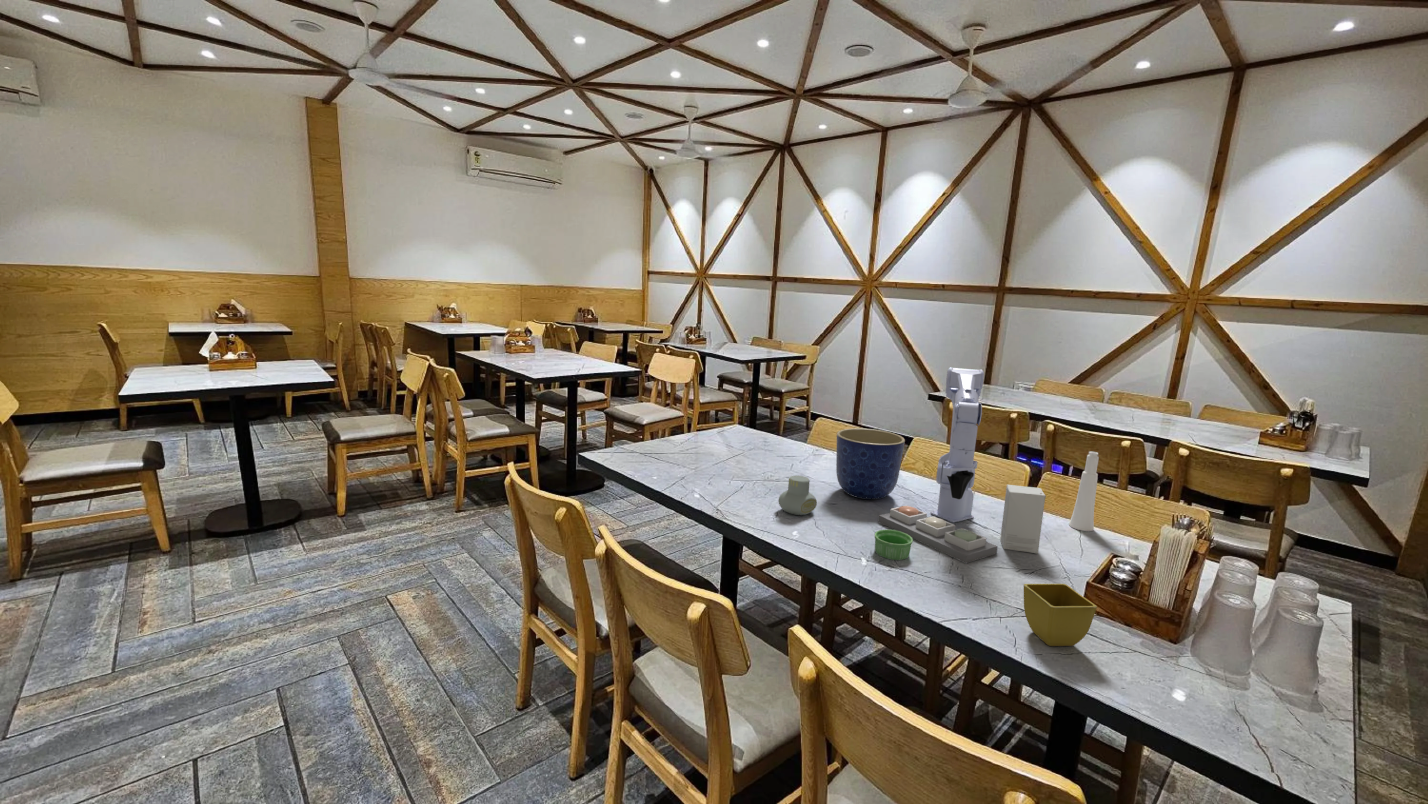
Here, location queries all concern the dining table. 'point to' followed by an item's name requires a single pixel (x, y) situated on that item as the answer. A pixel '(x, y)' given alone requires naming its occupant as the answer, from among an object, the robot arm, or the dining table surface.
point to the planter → (868, 462)
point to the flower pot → (1057, 613)
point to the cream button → (935, 522)
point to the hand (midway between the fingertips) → (956, 497)
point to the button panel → (938, 536)
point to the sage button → (965, 535)
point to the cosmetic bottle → (1086, 496)
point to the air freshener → (797, 497)
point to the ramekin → (892, 544)
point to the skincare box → (1022, 518)
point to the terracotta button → (908, 510)
